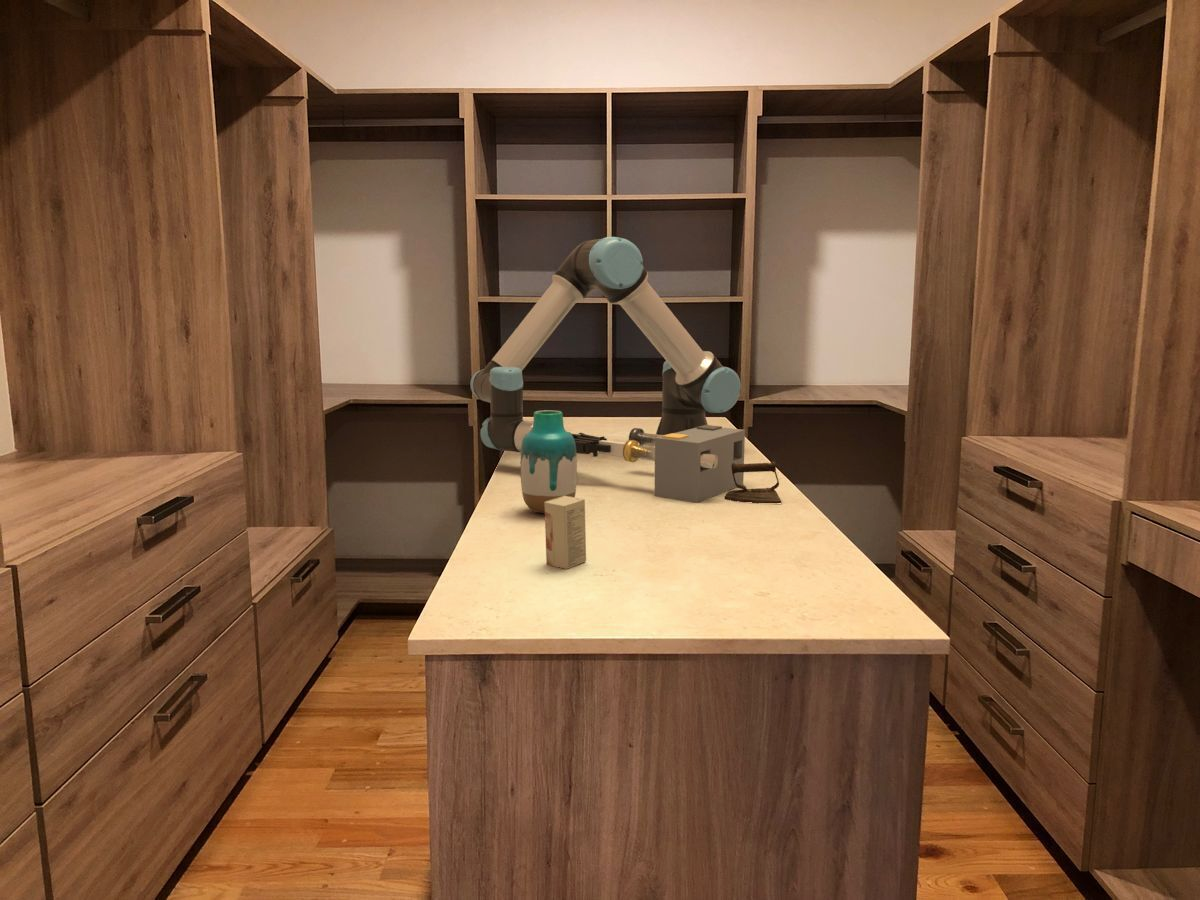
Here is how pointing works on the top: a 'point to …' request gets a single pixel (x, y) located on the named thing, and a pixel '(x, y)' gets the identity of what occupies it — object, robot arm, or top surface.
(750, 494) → the clothes iron
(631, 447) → the plunger ochre
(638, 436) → the plunger grey
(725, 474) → the console
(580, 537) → the skincare box
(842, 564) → the top surface
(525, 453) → the vase
